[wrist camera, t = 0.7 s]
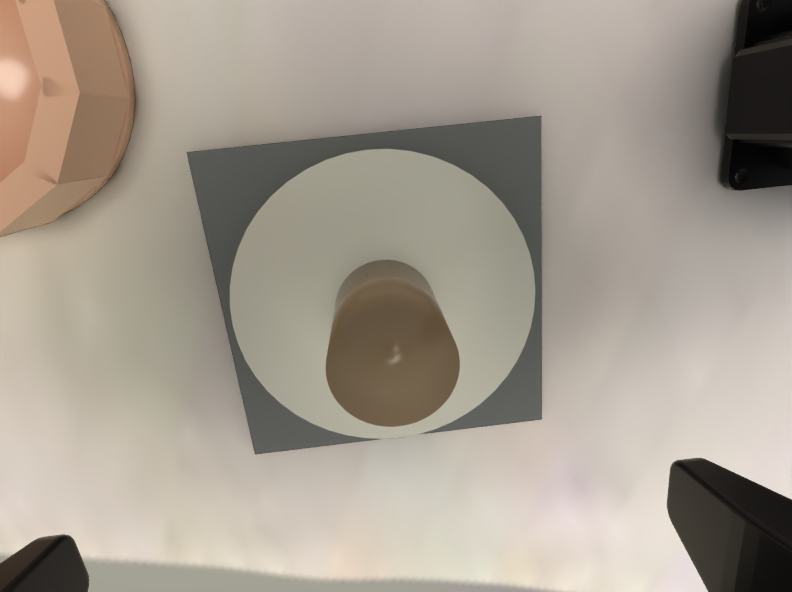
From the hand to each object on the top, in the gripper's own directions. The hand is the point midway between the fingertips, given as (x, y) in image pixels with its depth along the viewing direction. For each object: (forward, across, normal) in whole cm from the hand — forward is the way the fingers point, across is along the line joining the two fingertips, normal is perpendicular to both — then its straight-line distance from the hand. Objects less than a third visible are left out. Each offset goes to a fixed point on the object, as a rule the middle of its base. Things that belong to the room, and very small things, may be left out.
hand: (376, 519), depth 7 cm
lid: (+12, 0, +1) cm, 12 cm away
